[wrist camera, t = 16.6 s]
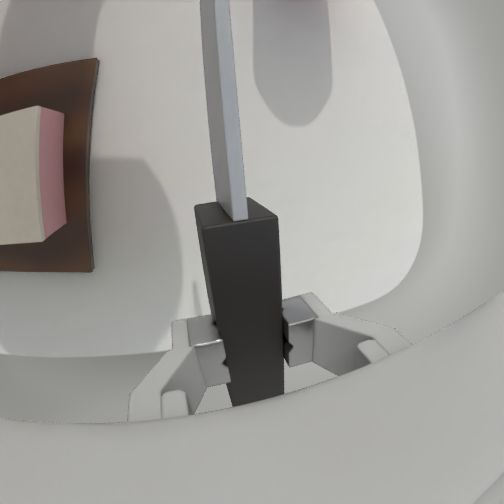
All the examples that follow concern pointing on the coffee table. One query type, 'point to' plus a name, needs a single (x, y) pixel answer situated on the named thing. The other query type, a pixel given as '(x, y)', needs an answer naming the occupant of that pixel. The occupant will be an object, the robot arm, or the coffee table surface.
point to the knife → (238, 234)
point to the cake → (74, 162)
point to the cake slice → (31, 175)
